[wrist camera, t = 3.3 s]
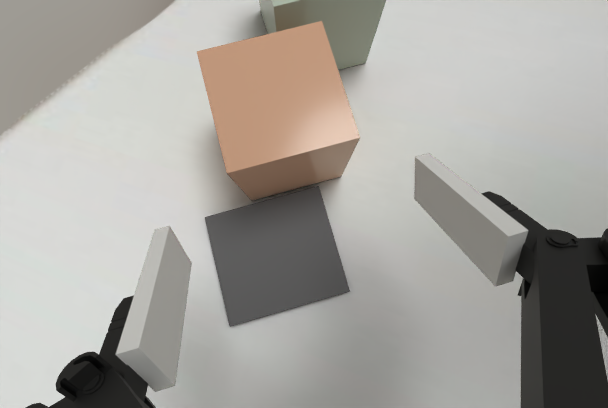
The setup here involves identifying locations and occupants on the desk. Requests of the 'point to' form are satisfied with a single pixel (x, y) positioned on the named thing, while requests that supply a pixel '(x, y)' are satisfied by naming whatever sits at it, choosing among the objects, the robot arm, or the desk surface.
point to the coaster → (275, 255)
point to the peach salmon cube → (279, 110)
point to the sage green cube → (330, 23)
